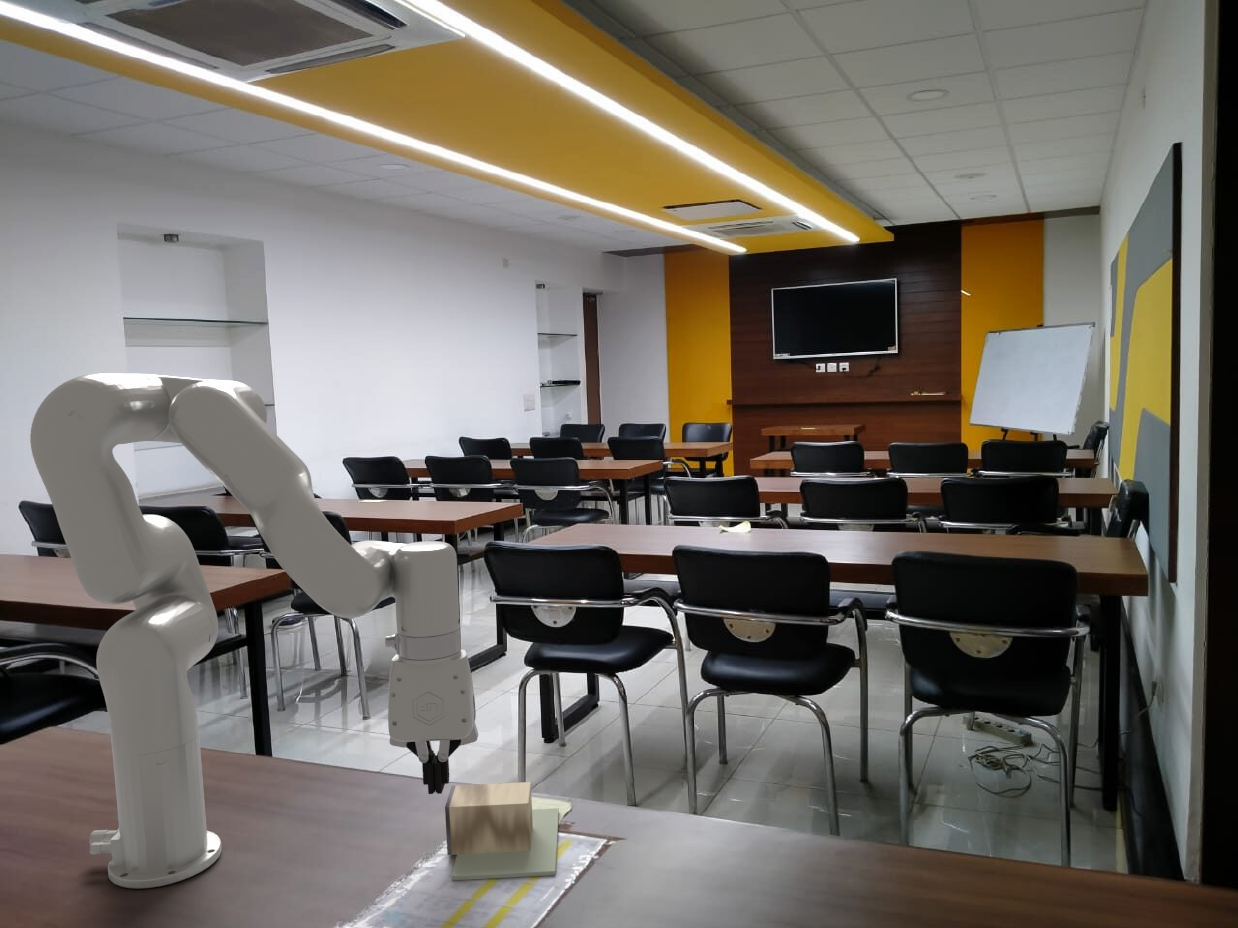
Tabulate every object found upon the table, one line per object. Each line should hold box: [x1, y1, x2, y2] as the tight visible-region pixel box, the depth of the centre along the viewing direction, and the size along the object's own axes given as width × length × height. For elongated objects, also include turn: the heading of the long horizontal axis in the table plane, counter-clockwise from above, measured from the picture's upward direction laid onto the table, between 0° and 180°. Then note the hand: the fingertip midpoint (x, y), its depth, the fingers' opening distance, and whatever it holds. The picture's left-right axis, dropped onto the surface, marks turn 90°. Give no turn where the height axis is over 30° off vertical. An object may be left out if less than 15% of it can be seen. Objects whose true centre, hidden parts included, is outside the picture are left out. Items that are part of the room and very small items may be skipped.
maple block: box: [444, 781, 533, 856], centre depth 117 cm, size 6×6×10 cm
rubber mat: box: [451, 807, 560, 881], centre depth 118 cm, size 12×16×1 cm
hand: (436, 788), depth 117 cm, fingers closed
